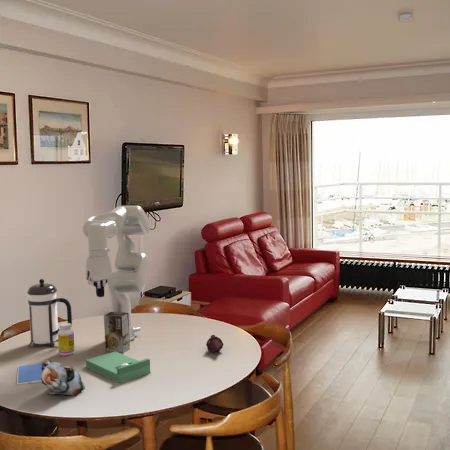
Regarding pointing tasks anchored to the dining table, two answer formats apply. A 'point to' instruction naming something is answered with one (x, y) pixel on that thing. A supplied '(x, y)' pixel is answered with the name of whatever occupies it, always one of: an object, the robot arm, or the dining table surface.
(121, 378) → the green
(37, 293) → the coffee press
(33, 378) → the tablet computer
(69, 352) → the supplement bottle
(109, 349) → the coffee box
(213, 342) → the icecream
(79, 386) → the lucky cat figurine
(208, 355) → the dining table surface
